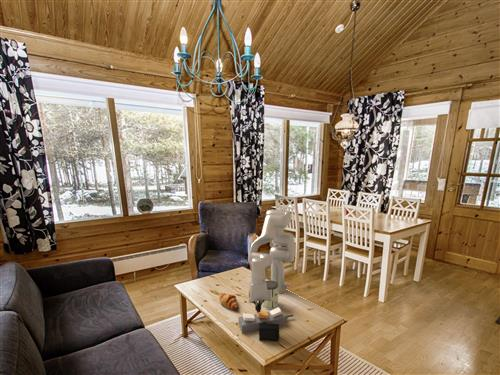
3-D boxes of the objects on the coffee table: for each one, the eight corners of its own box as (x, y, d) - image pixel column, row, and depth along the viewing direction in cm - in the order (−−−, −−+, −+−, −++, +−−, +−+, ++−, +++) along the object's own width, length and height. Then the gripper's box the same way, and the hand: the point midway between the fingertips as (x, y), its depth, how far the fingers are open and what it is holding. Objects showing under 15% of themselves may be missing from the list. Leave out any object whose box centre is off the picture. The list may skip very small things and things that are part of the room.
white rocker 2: (279, 309, 144) (278, 307, 143) (281, 313, 140) (281, 311, 140) (269, 313, 142) (269, 311, 142) (272, 317, 138) (271, 315, 138)
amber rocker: (265, 314, 142) (266, 311, 142) (268, 318, 138) (268, 315, 138) (256, 313, 140) (256, 310, 140) (258, 317, 136) (258, 314, 136)
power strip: (289, 314, 148) (289, 307, 148) (295, 322, 140) (295, 315, 140) (238, 323, 140) (238, 316, 139) (241, 333, 132) (241, 325, 132)
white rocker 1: (252, 316, 139) (253, 314, 139) (254, 321, 136) (255, 318, 136) (242, 316, 138) (243, 313, 138) (244, 320, 134) (245, 317, 134)
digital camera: (279, 334, 131) (279, 322, 130) (279, 341, 125) (279, 329, 125) (259, 333, 132) (259, 321, 131) (259, 340, 126) (259, 327, 126)
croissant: (217, 302, 168) (212, 294, 165) (228, 292, 172) (223, 283, 170) (233, 317, 150) (228, 308, 148) (245, 305, 155) (240, 296, 152)
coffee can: (264, 299, 165) (264, 279, 164) (279, 301, 162) (279, 281, 160) (260, 307, 155) (260, 286, 154) (276, 310, 152) (276, 289, 151)
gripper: (268, 275, 142) (268, 305, 143) (243, 278, 138) (243, 309, 139) (273, 281, 135) (273, 312, 136) (247, 284, 130) (247, 317, 132)
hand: (258, 311), depth 138 cm, fingers closed
